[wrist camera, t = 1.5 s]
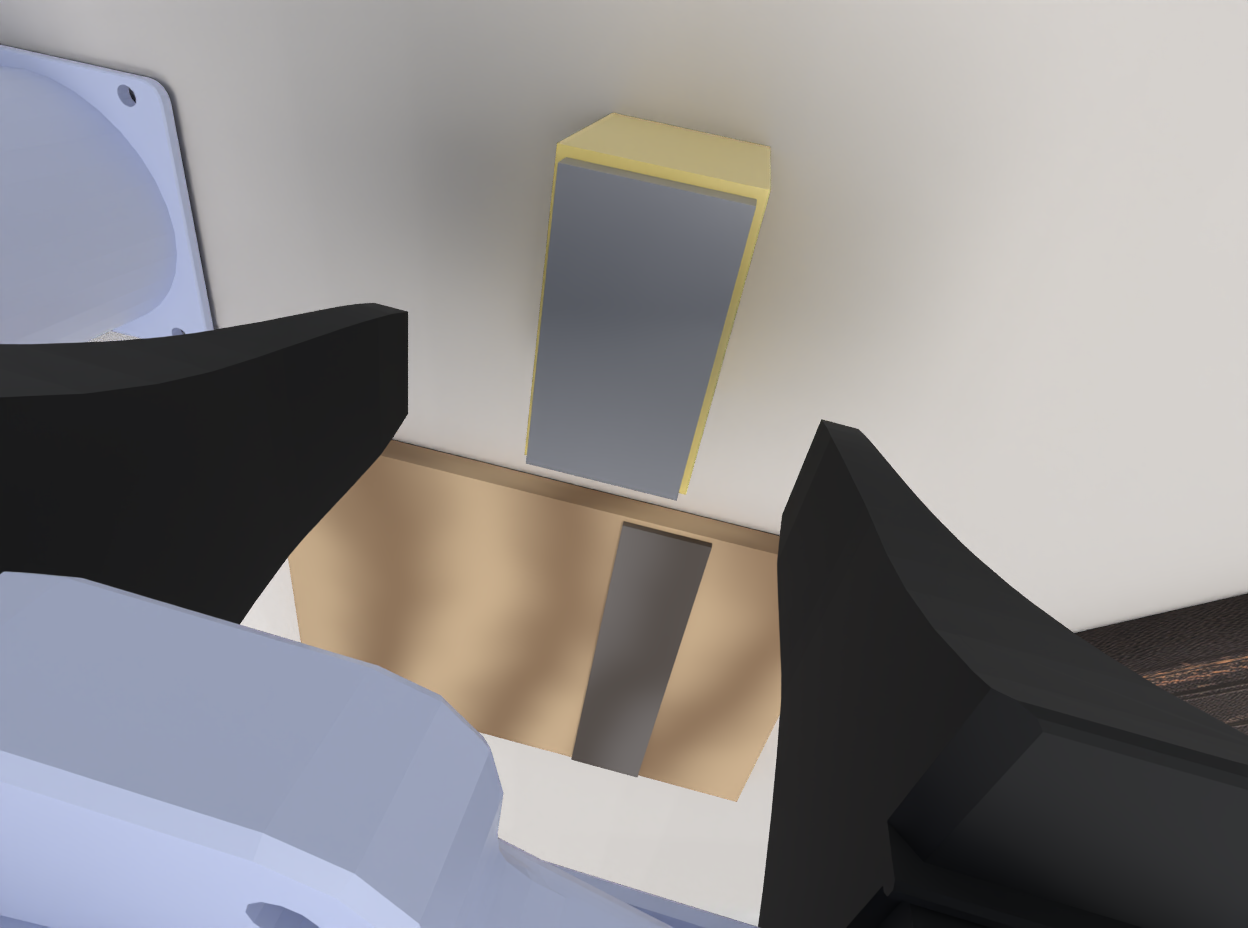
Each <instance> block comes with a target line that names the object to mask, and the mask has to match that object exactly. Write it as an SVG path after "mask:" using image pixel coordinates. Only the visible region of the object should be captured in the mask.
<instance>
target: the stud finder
mask: <svg viewBox="0 0 1248 928" xmlns="http://www.w3.org/2000/svg"><path fill="white" fill-rule="evenodd" d="M770 191H771V167H770V147H769V146H764V145H760V144H755V143H751V142H746V141H741V140H737V139H732V138H727V137H723V136H718V135H714V134H709V133H704V132H700V131H695V130H690V129H686V128H681V127H677V126H672V125H667V124H663V123H658V122H654V121H649V120H644V119H640V118H635V117H630V116H626V115H621V114H617V113H611V114H609V115H607V116H606V117H604V118H602V119H600V120H598V121H597V122H595V123H593V124H591V125H589V126H587V127H586V128H584V129H582V130H580V131H578V132H576V133H575V134H573V135H571V136H569V137H567V138H565V139H564V140H562V141H560V142H558V143H557V148H556V158H555V167H554V177H553V187H552V196H551V206H550V216H549V225H548V235H547V245H546V254H545V264H544V273H543V283H542V293H541V302H540V312H539V322H538V331H537V341H536V350H535V360H534V370H533V379H532V389H531V399H530V408H529V418H528V428H527V437H526V447H525V455H527V458H526V463H527V464H531V465H535V466H539V467H543V468H547V469H551V470H555V471H559V472H563V473H567V474H571V475H575V476H579V477H583V478H587V479H591V480H595V481H599V482H603V483H607V484H611V485H615V486H620V487H624V488H628V489H632V490H636V491H640V492H644V493H648V494H652V495H656V496H660V497H664V498H668V499H672V500H676V501H677V497H678V493H681V494H685V495H686V492H687V488H688V485H689V481H690V478H691V474H692V471H693V467H694V463H695V460H696V456H697V453H698V449H699V445H700V442H701V438H702V435H703V431H704V427H705V424H706V420H707V417H708V413H709V410H710V406H711V402H712V399H713V395H714V392H715V388H716V384H717V381H718V377H719V374H720V370H721V367H722V363H723V359H724V356H725V352H726V349H727V345H728V341H729V338H730V334H731V331H732V327H733V324H734V320H735V316H736V313H737V309H738V306H739V302H740V298H741V295H742V291H743V288H744V284H745V280H746V277H747V273H748V270H749V266H750V263H751V259H752V255H753V252H754V248H755V245H756V241H757V237H758V234H759V230H760V227H761V223H762V220H763V216H764V212H765V209H766V205H767V202H768V198H769V194H770Z"/></svg>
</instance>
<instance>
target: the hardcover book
mask: <svg viewBox="0 0 1248 928" xmlns="http://www.w3.org/2000/svg"><path fill="white" fill-rule="evenodd" d="M1075 634H1076V635H1078V636H1079V637H1081V638H1082V639H1084V640H1085V641H1087V642H1088V643H1090V644H1091V645H1093V646H1094V647H1096V648H1097V649H1099V650H1100V651H1102V652H1103V653H1105V654H1106V655H1108V656H1110V657H1111V658H1113V659H1114V660H1116V661H1118V662H1119V663H1121V664H1123V665H1124V666H1126V667H1127V668H1129V669H1131V670H1132V671H1134V672H1135V673H1137V674H1139V675H1140V676H1142V677H1144V678H1145V679H1147V680H1148V681H1150V682H1152V683H1153V684H1155V685H1157V686H1158V687H1160V688H1162V689H1163V690H1165V691H1167V692H1169V693H1170V694H1172V695H1174V696H1176V697H1178V698H1180V699H1181V700H1183V701H1185V702H1187V703H1189V704H1191V705H1192V706H1194V707H1196V708H1198V709H1200V710H1202V711H1204V712H1205V713H1207V714H1209V715H1211V716H1213V717H1215V718H1216V719H1218V720H1220V721H1222V722H1224V723H1226V724H1227V725H1229V726H1231V727H1233V728H1235V729H1237V730H1239V731H1240V732H1242V733H1244V734H1246V735H1248V594H1245V595H1240V596H1236V597H1232V598H1227V599H1223V600H1218V601H1214V602H1210V603H1205V604H1201V605H1196V606H1192V607H1188V608H1183V609H1179V610H1175V611H1170V612H1166V613H1161V614H1157V615H1153V616H1148V617H1144V618H1139V619H1135V620H1131V621H1126V622H1122V623H1118V624H1113V625H1109V626H1104V627H1100V628H1096V629H1091V630H1087V631H1083V632H1078V633H1075Z"/></svg>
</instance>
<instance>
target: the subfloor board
mask: <svg viewBox="0 0 1248 928" xmlns="http://www.w3.org/2000/svg"><path fill="white" fill-rule="evenodd" d="M779 538H780V536H777V535H773V534H769V533H765V532H761V531H757V530H753V529H749V528H745V527H741V526H737V525H733V524H729V523H725V522H721V521H717V520H713V519H709V518H705V517H701V516H697V515H693V514H689V513H685V512H681V511H676V510H672V509H668V508H664V507H660V506H656V505H652V504H648V503H644V502H640V501H636V500H632V499H628V498H624V497H620V496H616V495H612V494H608V493H604V492H600V491H596V490H592V489H588V488H584V487H580V486H576V485H572V484H568V483H564V482H560V481H556V480H552V479H548V478H544V477H539V476H535V475H531V474H527V473H523V472H519V471H515V470H511V469H507V468H503V467H499V466H495V465H491V464H487V463H483V462H479V461H475V460H471V459H467V458H463V457H459V456H455V455H451V454H447V453H443V452H439V451H435V450H431V449H427V448H423V447H419V446H415V445H411V444H407V443H402V442H398V441H394V440H391V441H390V442H389V444H388V445H387V447H386V448H385V450H384V451H383V453H382V454H381V455H380V456H379V457H378V459H377V460H376V461H375V462H374V463H373V464H372V465H371V466H370V468H369V469H368V470H367V471H366V472H365V473H364V474H363V475H362V476H361V477H360V479H359V480H358V481H357V482H356V483H355V484H354V485H353V486H352V487H351V488H350V489H349V490H348V492H347V493H346V494H345V495H344V496H343V497H342V498H341V499H340V500H339V501H338V502H337V503H336V504H335V505H334V507H333V508H332V509H331V510H330V511H329V512H328V513H327V514H326V515H325V516H324V517H323V518H322V519H321V520H320V522H319V523H318V524H317V525H316V526H315V527H314V528H313V529H312V530H311V531H310V532H309V533H308V534H307V536H306V537H305V538H304V539H303V540H302V541H301V542H300V544H299V545H298V546H297V547H296V548H295V549H294V551H293V552H292V553H291V554H290V555H289V557H288V561H289V567H290V574H291V580H292V587H293V594H294V600H295V607H296V613H297V620H298V626H299V633H300V640H301V643H303V644H307V645H310V646H314V647H317V648H320V649H324V650H327V651H330V652H334V653H337V654H341V655H344V656H347V657H351V658H354V659H357V660H361V661H364V662H368V663H371V664H374V665H378V666H380V667H382V668H384V669H386V670H388V671H391V672H393V673H395V674H397V675H399V676H401V677H403V678H405V679H407V680H410V681H412V682H414V683H416V684H418V685H420V686H422V687H424V688H426V689H429V690H431V691H433V692H435V693H437V694H439V695H441V696H442V697H443V698H444V699H445V700H446V701H447V702H448V703H449V704H450V705H451V706H452V707H453V708H454V709H455V710H456V711H457V712H458V713H459V714H460V715H461V716H463V717H464V718H465V719H466V720H467V721H468V722H469V723H470V724H471V725H472V726H473V727H474V728H475V729H476V730H477V731H478V732H481V733H484V734H488V735H492V736H496V737H499V738H503V739H507V740H510V741H514V742H518V743H521V744H525V745H529V746H532V747H536V748H540V749H544V750H547V751H551V752H555V753H558V754H562V755H566V756H569V757H572V759H571V760H575V761H579V762H582V763H586V764H590V765H593V766H597V767H601V768H604V769H608V770H612V771H615V772H619V773H623V774H627V775H630V776H634V777H638V775H639V776H643V777H647V778H651V779H654V780H658V781H662V782H665V783H669V784H673V785H676V786H680V787H684V788H687V789H691V790H695V791H699V792H702V793H706V794H710V795H713V796H717V797H721V798H724V799H728V800H732V801H735V802H737V800H738V798H739V796H740V794H741V792H742V790H743V788H744V786H745V784H746V782H747V780H748V778H749V776H750V774H751V772H752V770H753V768H754V766H755V764H756V762H757V759H758V757H759V755H760V753H761V751H762V749H763V747H764V745H765V743H766V741H767V739H768V737H769V735H770V733H771V731H772V729H773V727H774V725H775V723H776V721H777V719H778V717H779V715H780V707H781V658H780V634H779V610H778V583H777V558H778V547H779Z"/></svg>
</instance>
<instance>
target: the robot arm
mask: <svg viewBox="0 0 1248 928" xmlns="http://www.w3.org/2000/svg"><path fill="white" fill-rule="evenodd" d="M129 87H130V89H131V90H132V91H133V92H134V94H135V97H136V103H135V102H134V101H133V100H132V98H131V96H130V94H129ZM181 330H183V331H184V332H185V334H183V333H182V331H181ZM109 331H113V332H118V333H122V334H126V335H130V336H134V337H138V338H142V339H134V340H123V341H108V342H87V341H89V340H92V339H94V338H96V337H98V336H100V335H102V334H105V333H107V332H109ZM407 414H408V312H407V311H403V310H399V309H395V308H392V307H388V306H384V305H380V304H376V303H364V304H354V305H347V306H341V307H335V308H329V309H324V310H319V311H314V312H308V313H303V314H298V315H293V316H288V317H283V318H278V319H273V320H268V321H263V322H257V323H251V324H246V325H240V326H234V327H228V328H222V329H216V330H214V329H213V323H212V318H211V313H210V307H209V302H208V297H207V291H206V286H205V281H204V275H203V270H202V265H201V259H200V254H199V249H198V243H197V238H196V233H195V228H194V222H193V217H192V212H191V206H190V201H189V196H188V190H187V185H186V180H185V174H184V169H183V164H182V158H181V153H180V148H179V142H178V137H177V132H176V126H175V121H174V116H173V111H172V105H171V101H170V98H169V95H168V93H167V92H166V90H165V89H164V87H163V86H162V85H161V84H160V83H158V82H157V81H156V80H154V79H151V78H148V77H144V76H139V75H135V74H130V73H126V72H121V71H117V70H112V69H108V68H103V67H99V66H94V65H90V64H85V63H81V62H76V61H72V60H67V59H63V58H58V57H54V56H49V55H45V54H40V53H36V52H31V51H27V50H22V49H18V48H13V47H9V46H4V45H0V928H1248V735H1246V734H1244V733H1242V732H1240V731H1239V730H1237V729H1235V728H1233V727H1231V726H1229V725H1227V724H1226V723H1224V722H1222V721H1220V720H1218V719H1216V718H1215V717H1213V716H1211V715H1209V714H1207V713H1205V712H1204V711H1202V710H1200V709H1198V708H1196V707H1194V706H1192V705H1191V704H1189V703H1187V702H1185V701H1183V700H1181V699H1180V698H1178V697H1176V696H1174V695H1172V694H1170V693H1169V692H1167V691H1165V690H1163V689H1162V688H1160V687H1158V686H1157V685H1155V684H1153V683H1152V682H1150V681H1148V680H1147V679H1145V678H1144V677H1142V676H1140V675H1139V674H1137V673H1135V672H1134V671H1132V670H1131V669H1129V668H1127V667H1126V666H1124V665H1123V664H1121V663H1119V662H1118V661H1116V660H1114V659H1113V658H1111V657H1110V656H1108V655H1106V654H1105V653H1103V652H1102V651H1100V650H1099V649H1097V648H1096V647H1094V646H1093V645H1091V644H1090V643H1088V642H1087V641H1085V640H1084V639H1082V638H1081V637H1079V636H1078V635H1076V634H1075V633H1073V632H1072V631H1070V630H1069V629H1068V628H1066V627H1065V626H1064V625H1062V624H1061V623H1059V622H1058V621H1057V620H1055V619H1054V618H1053V617H1051V616H1050V615H1048V614H1047V613H1046V612H1044V611H1043V610H1041V609H1040V608H1039V607H1037V606H1036V605H1035V604H1033V603H1032V602H1031V601H1029V600H1028V599H1027V598H1025V597H1024V596H1023V595H1022V594H1020V593H1019V592H1018V591H1016V590H1015V589H1014V588H1013V587H1011V586H1010V585H1009V584H1008V583H1007V582H1005V581H1004V580H1003V579H1002V578H1001V577H1000V576H998V575H997V574H996V573H995V572H994V571H993V570H991V569H990V568H989V567H988V566H987V565H986V564H984V563H983V562H982V561H981V560H980V559H979V558H977V557H976V556H975V555H974V554H973V553H972V552H971V551H970V550H969V549H968V548H967V547H965V546H964V545H963V544H962V543H961V542H960V541H959V540H958V539H957V538H956V537H955V536H954V535H953V534H952V533H951V532H950V531H949V530H948V529H947V528H946V527H945V526H944V525H943V524H942V523H941V522H940V521H939V520H938V519H937V518H936V517H935V515H934V514H933V513H932V512H931V511H930V510H929V509H928V508H927V507H926V506H925V505H924V504H923V502H922V501H921V500H920V499H919V498H918V497H917V496H916V495H915V493H914V492H913V491H912V490H911V489H910V488H909V487H908V485H907V484H906V483H905V482H904V481H903V480H902V478H901V477H900V476H899V475H898V474H897V472H896V471H895V470H894V469H893V468H892V467H891V465H890V464H889V463H888V462H887V461H886V459H885V458H884V457H883V456H882V455H881V453H880V452H879V451H878V450H877V449H876V447H875V446H874V445H873V444H872V443H871V442H870V440H869V439H868V438H867V437H866V436H865V435H864V434H863V433H862V432H861V431H860V430H859V429H856V428H852V427H848V426H845V425H841V424H837V423H833V422H829V421H825V420H822V419H821V422H820V424H819V427H818V429H817V432H816V434H815V436H814V439H813V441H812V444H811V446H810V449H809V451H808V453H807V456H806V458H805V461H804V463H803V466H802V468H801V471H800V473H799V475H798V478H797V480H796V483H795V485H794V488H793V490H792V492H791V495H790V497H789V500H788V502H787V505H786V507H785V509H784V512H783V514H782V521H781V530H780V538H779V547H778V558H777V583H778V610H779V634H780V658H781V707H780V720H779V733H778V747H777V759H776V770H775V781H774V792H773V803H772V813H771V823H770V832H769V841H768V850H767V858H766V867H765V876H764V885H763V893H762V901H761V909H760V916H759V924H758V927H756V926H753V925H750V924H747V923H744V922H740V921H737V920H734V919H731V918H727V917H724V916H721V915H718V914H714V913H711V912H708V911H705V910H702V909H698V908H695V907H692V906H689V905H685V904H682V903H679V902H676V901H672V900H669V899H666V898H663V897H660V896H656V895H653V894H650V893H647V892H643V891H640V890H637V889H634V888H630V887H627V886H624V885H621V884H618V883H614V882H611V881H608V880H605V879H601V878H598V877H595V876H592V875H588V874H585V873H582V872H579V871H576V870H572V869H569V868H566V867H563V866H559V865H556V864H553V863H550V862H547V861H543V860H541V859H539V858H537V857H535V856H533V855H531V854H529V853H527V852H525V851H524V850H522V849H520V848H518V847H516V846H514V845H512V844H510V843H508V842H506V841H504V840H502V839H500V838H498V826H499V819H500V813H501V806H502V800H503V790H502V787H501V783H500V780H499V776H498V773H497V769H496V766H495V762H494V759H493V755H492V752H491V749H490V747H489V745H488V744H487V742H486V740H485V739H484V737H483V736H482V735H481V734H480V733H479V732H478V731H477V730H476V729H475V728H474V727H473V726H472V725H471V724H470V723H469V722H468V721H467V720H466V719H465V718H464V717H463V716H461V715H460V714H459V713H458V712H457V711H456V710H455V709H454V708H453V707H452V706H451V705H450V704H449V703H448V702H447V701H446V700H445V699H444V698H443V697H442V696H441V695H439V694H437V693H435V692H433V691H431V690H429V689H426V688H424V687H422V686H420V685H418V684H416V683H414V682H412V681H410V680H407V679H405V678H403V677H401V676H399V675H397V674H395V673H393V672H391V671H388V670H386V669H384V668H382V667H380V666H378V665H374V664H371V663H368V662H364V661H361V660H357V659H354V658H351V657H347V656H344V655H341V654H337V653H334V652H330V651H327V650H324V649H320V648H317V647H314V646H310V645H307V644H303V643H300V642H297V641H293V640H290V639H286V638H283V637H280V636H276V635H273V634H270V633H266V632H263V631H259V630H256V629H253V628H249V627H246V626H242V625H240V623H241V622H242V620H243V619H244V617H245V616H246V614H247V613H248V612H249V610H250V609H251V607H252V606H253V604H254V603H255V601H256V600H257V599H258V597H259V596H260V595H261V593H262V592H263V590H264V589H265V588H266V586H267V585H268V584H269V582H270V581H271V579H272V578H273V577H274V575H275V574H276V573H277V571H278V570H279V569H280V567H281V566H282V564H283V563H284V562H285V560H286V559H287V558H288V557H289V555H290V554H291V553H292V552H293V551H294V549H295V548H296V547H297V546H298V545H299V544H300V542H301V541H302V540H303V539H304V538H305V537H306V536H307V534H308V533H309V532H310V531H311V530H312V529H313V528H314V527H315V526H316V525H317V524H318V523H319V522H320V520H321V519H322V518H323V517H324V516H325V515H326V514H327V513H328V512H329V511H330V510H331V509H332V508H333V507H334V505H335V504H336V503H337V502H338V501H339V500H340V499H341V498H342V497H343V496H344V495H345V494H346V493H347V492H348V490H349V489H350V488H351V487H352V486H353V485H354V484H355V483H356V482H357V481H358V480H359V479H360V477H361V476H362V475H363V474H364V473H365V472H366V471H367V470H368V469H369V468H370V466H371V465H372V464H373V463H374V462H375V461H376V460H377V459H378V457H379V456H380V455H381V454H382V453H383V451H384V450H385V448H386V447H387V445H388V444H389V442H390V441H391V440H392V438H393V437H394V435H395V433H396V432H397V430H398V429H399V427H400V426H401V424H402V422H403V421H404V419H405V418H406V416H407Z"/></svg>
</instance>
